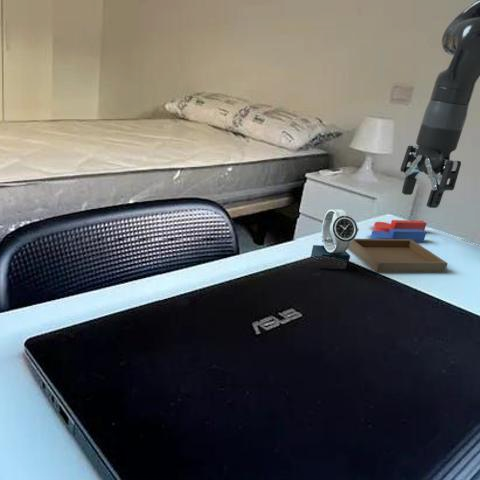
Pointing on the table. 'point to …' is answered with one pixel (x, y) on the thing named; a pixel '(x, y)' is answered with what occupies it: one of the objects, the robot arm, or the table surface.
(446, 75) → the robot arm
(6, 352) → the table surface
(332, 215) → the watch
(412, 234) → the blue spoon
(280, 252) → the table surface
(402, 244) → the tray
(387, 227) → the red spoon
